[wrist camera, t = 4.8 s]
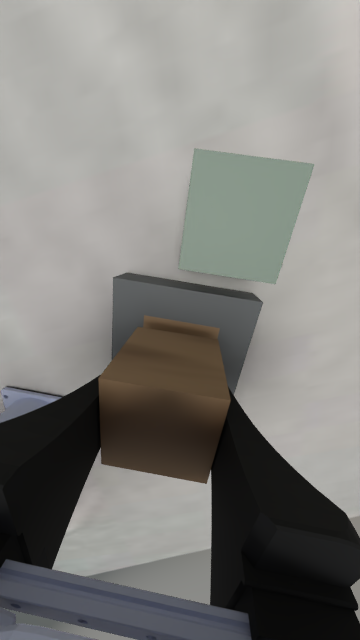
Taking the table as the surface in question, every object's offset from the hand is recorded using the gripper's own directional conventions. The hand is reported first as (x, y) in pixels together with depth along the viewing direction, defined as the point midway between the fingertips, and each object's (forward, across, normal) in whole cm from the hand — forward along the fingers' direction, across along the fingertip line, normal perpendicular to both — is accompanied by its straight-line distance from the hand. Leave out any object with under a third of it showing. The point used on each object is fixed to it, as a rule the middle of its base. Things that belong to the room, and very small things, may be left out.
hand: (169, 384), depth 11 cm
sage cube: (+6, -2, -9) cm, 11 cm away
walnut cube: (+2, 0, 0) cm, 2 cm away
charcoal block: (+6, 0, 0) cm, 6 cm away
